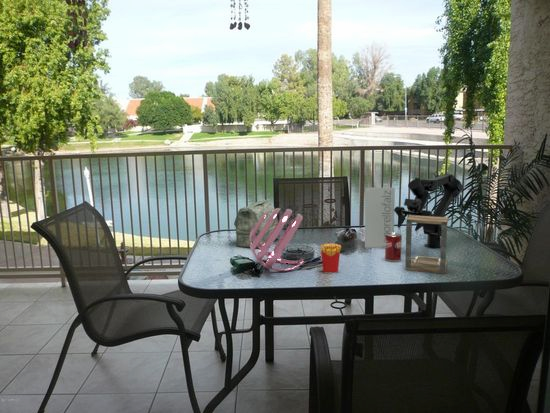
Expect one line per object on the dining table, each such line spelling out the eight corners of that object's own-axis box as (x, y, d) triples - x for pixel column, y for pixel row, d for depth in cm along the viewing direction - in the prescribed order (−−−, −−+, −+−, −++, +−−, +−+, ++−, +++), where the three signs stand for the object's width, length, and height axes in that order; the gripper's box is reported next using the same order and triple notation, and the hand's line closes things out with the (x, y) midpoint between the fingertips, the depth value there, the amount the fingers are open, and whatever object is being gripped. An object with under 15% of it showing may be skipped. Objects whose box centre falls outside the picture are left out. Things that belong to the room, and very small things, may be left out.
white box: (364, 247, 230) (365, 189, 225) (365, 244, 236) (365, 187, 230) (393, 248, 227) (394, 189, 221) (393, 245, 232) (394, 187, 227)
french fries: (321, 272, 194) (321, 245, 192) (321, 269, 198) (320, 243, 196) (341, 272, 193) (341, 245, 191) (340, 269, 197) (340, 243, 195)
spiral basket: (328, 220, 206) (278, 187, 206) (317, 250, 181) (260, 213, 181) (298, 261, 220) (251, 230, 220) (283, 294, 195) (230, 260, 195)
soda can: (401, 257, 212) (401, 232, 209) (401, 262, 205) (401, 236, 203) (385, 256, 214) (385, 232, 211) (384, 261, 207) (385, 236, 204)
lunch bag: (254, 235, 262) (253, 198, 258) (283, 238, 254) (281, 199, 250) (231, 246, 239) (229, 206, 235) (261, 250, 231) (260, 208, 227)
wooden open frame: (410, 259, 209) (411, 212, 205) (447, 262, 202) (449, 214, 198) (405, 269, 194) (406, 219, 190) (444, 273, 188) (447, 221, 184)
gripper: (396, 189, 217) (382, 216, 213) (431, 193, 203) (418, 222, 199) (405, 203, 224) (392, 229, 219) (440, 207, 210) (427, 235, 205)
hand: (406, 228), depth 211 cm, fingers open, 9 cm apart
